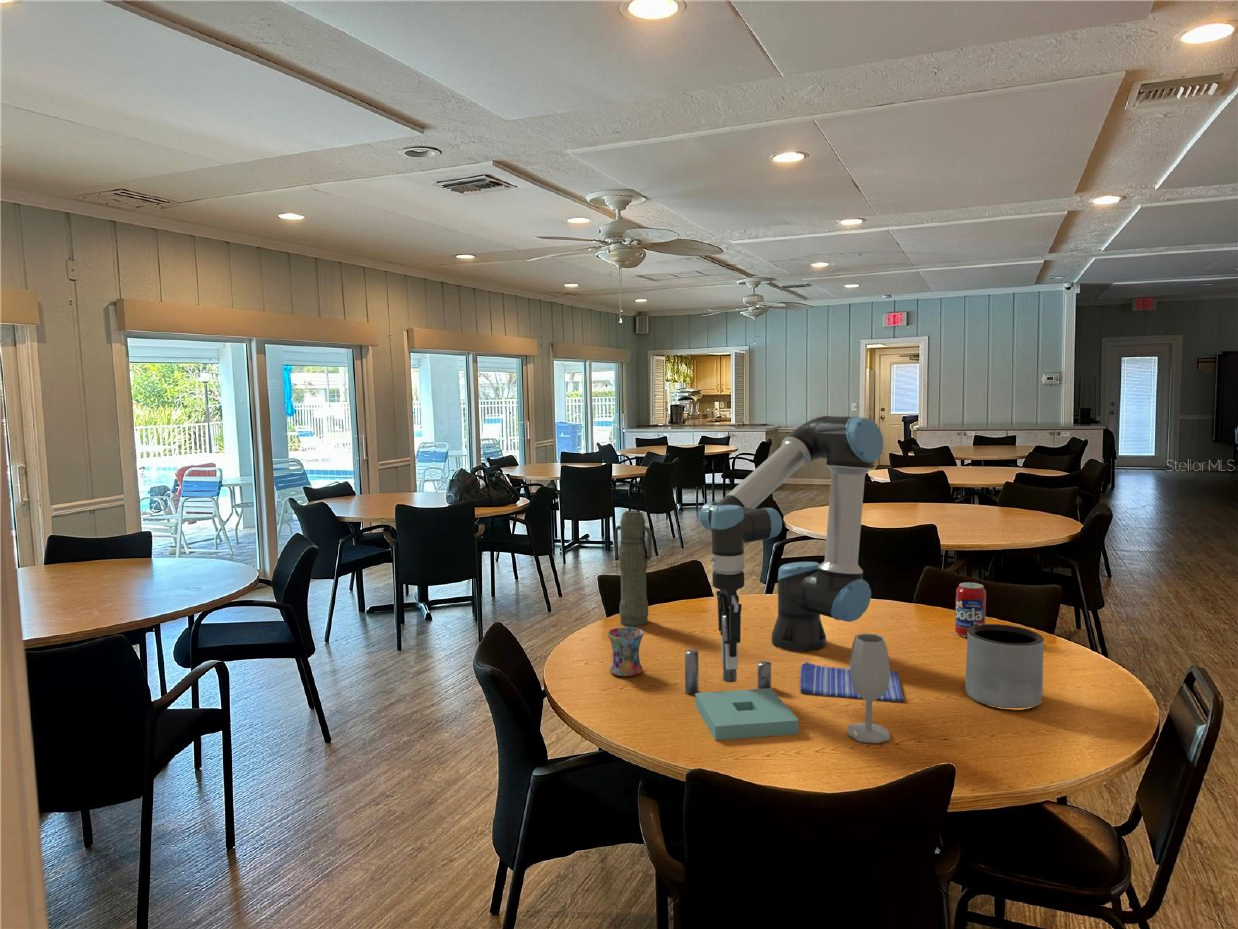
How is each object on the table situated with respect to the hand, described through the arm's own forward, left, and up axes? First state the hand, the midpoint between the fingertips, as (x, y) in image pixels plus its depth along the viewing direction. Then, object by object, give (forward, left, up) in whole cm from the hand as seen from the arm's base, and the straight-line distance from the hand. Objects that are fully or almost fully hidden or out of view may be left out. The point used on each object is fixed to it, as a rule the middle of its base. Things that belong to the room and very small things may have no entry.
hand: (729, 665), depth 189 cm
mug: (+22, -17, -6) cm, 29 cm away
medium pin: (+9, 0, -6) cm, 11 cm away
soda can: (-80, -28, -6) cm, 84 cm away
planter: (-61, +16, -6) cm, 63 cm away
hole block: (+1, +17, -6) cm, 18 cm away
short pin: (-9, 0, -6) cm, 10 cm away
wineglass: (-22, +29, -6) cm, 37 cm away
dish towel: (-30, +2, -7) cm, 30 cm away
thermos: (+14, -58, -6) cm, 60 cm away
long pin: (0, 0, -4) cm, 4 cm away
